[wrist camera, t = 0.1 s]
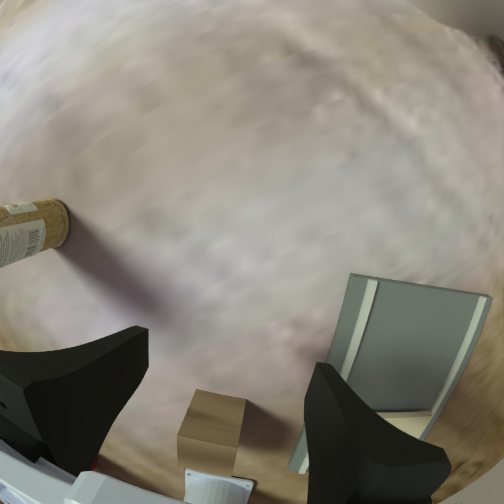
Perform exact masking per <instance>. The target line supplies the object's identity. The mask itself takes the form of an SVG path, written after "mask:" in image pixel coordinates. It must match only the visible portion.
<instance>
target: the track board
mask: <svg viewBox="0 0 504 504" xmlns="http://www.w3.org/2000/svg"><path fill="white" fill-rule="evenodd" d="M492 299H493V298H492V297H491V296H489V295H486V294H480V293H473V292H467V291H460V290H454V289H447V288H441V287H435V286H428V285H422V284H416V283H409V282H403V281H397V280H390V279H384V278H378V277H372V276H365V275H359V274H353V273H350V277H349V281H348V285H347V289H346V293H345V297H344V301H343V305H342V309H341V312H340V316H339V320H338V323H337V327H336V330H335V334H334V337H333V341H332V344H331V347H330V351H329V354H328V357H327V360H326V363H328V364H331V365H332V366H333V367H334V368H335V369H336V371H337V372H338V373H339V374H340V376H341V377H342V378H343V379H344V380H345V382H346V383H347V384H348V385H349V386H350V387H351V389H352V390H353V391H354V392H355V393H356V394H357V395H358V396H359V397H360V398H361V399H362V400H363V401H364V402H365V403H366V404H367V405H368V406H369V407H370V408H371V409H372V410H373V411H375V412H377V413H385V412H419V411H430V413H431V414H432V417H431V419H430V421H429V422H428V424H427V426H426V427H425V429H424V430H423V432H422V433H421V435H420V436H419V438H418V439H419V440H421V441H423V440H424V438H425V437H426V435H427V434H428V432H429V431H430V429H431V428H432V426H433V425H434V423H435V421H436V420H437V418H438V417H439V415H440V413H441V412H442V410H443V408H444V406H445V405H446V403H447V401H448V399H449V398H450V396H451V394H452V392H453V390H454V388H455V387H456V385H457V383H458V381H459V379H460V377H461V375H462V373H463V371H464V369H465V367H466V364H467V362H468V360H469V358H470V356H471V353H472V351H473V349H474V347H475V344H476V342H477V339H478V337H479V335H480V332H481V329H482V327H483V324H484V322H485V319H486V316H487V313H488V310H489V308H490V305H491V302H492ZM288 470H294V471H299V474H305V472H306V471H309V458H308V449H307V440H306V431H305V424H304V426H303V429H302V431H301V434H300V437H299V439H298V442H297V444H296V446H295V449H294V451H293V454H292V456H291V458H290V461H289V463H288Z"/></svg>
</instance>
